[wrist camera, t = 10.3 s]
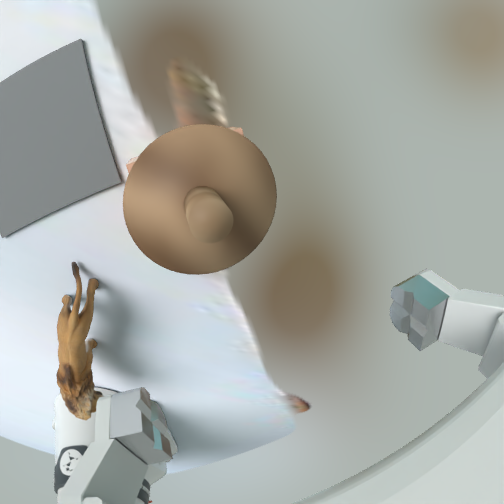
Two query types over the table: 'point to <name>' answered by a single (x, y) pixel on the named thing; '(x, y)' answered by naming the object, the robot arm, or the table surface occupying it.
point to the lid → (199, 199)
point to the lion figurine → (77, 352)
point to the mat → (50, 139)
